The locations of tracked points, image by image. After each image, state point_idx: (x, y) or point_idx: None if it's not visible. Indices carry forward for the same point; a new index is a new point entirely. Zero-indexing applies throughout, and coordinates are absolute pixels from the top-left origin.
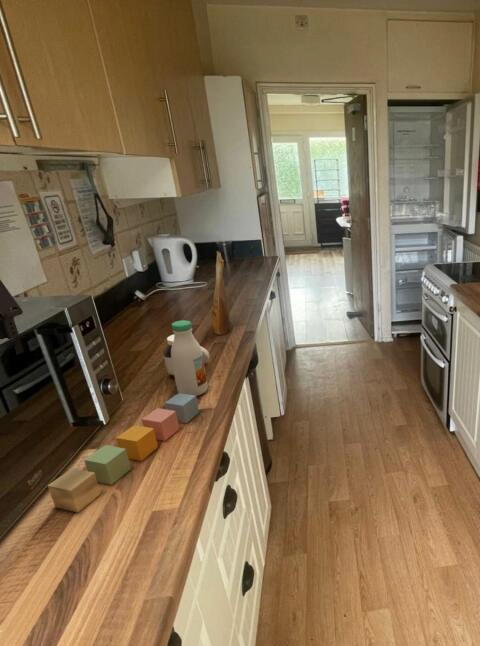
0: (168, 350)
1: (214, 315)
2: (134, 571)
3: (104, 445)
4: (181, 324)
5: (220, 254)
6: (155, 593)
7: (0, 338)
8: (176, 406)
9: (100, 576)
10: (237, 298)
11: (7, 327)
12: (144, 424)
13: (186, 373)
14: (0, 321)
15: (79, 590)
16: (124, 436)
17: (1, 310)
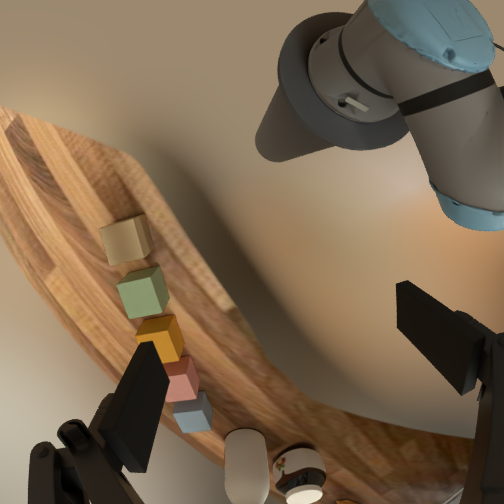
0: (306, 477)
1: None
2: (12, 208)
3: (161, 311)
4: None
5: None
6: None
7: (121, 382)
8: (183, 410)
9: (26, 188)
10: None
11: (92, 423)
12: (184, 369)
13: (231, 459)
14: (102, 438)
15: (28, 170)
16: (160, 337)
17: (40, 466)
